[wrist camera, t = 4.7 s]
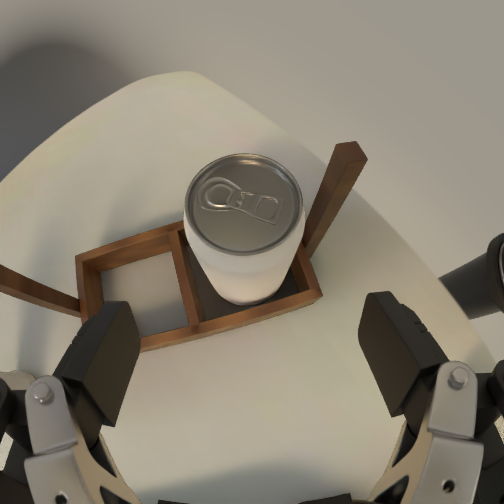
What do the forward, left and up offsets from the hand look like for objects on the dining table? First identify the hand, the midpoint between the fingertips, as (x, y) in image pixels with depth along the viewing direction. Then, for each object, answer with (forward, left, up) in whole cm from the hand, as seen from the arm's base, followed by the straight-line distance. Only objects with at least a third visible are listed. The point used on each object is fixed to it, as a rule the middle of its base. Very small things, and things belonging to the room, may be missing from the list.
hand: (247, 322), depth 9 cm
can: (-1, -6, -14) cm, 16 cm away
